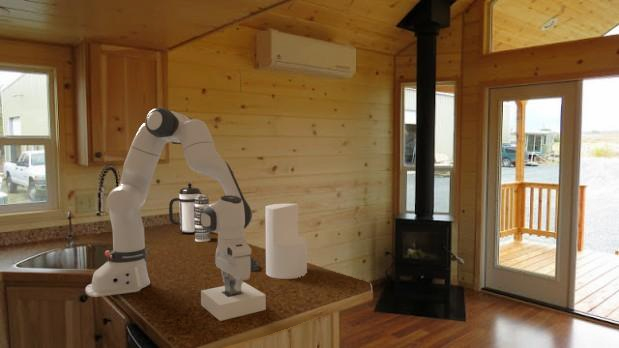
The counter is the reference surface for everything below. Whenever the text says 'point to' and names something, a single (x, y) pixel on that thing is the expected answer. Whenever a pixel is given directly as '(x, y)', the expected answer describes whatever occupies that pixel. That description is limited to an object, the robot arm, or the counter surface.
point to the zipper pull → (253, 264)
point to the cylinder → (284, 243)
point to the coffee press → (185, 208)
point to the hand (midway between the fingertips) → (231, 286)
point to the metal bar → (231, 287)
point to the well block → (233, 302)
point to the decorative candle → (200, 203)
